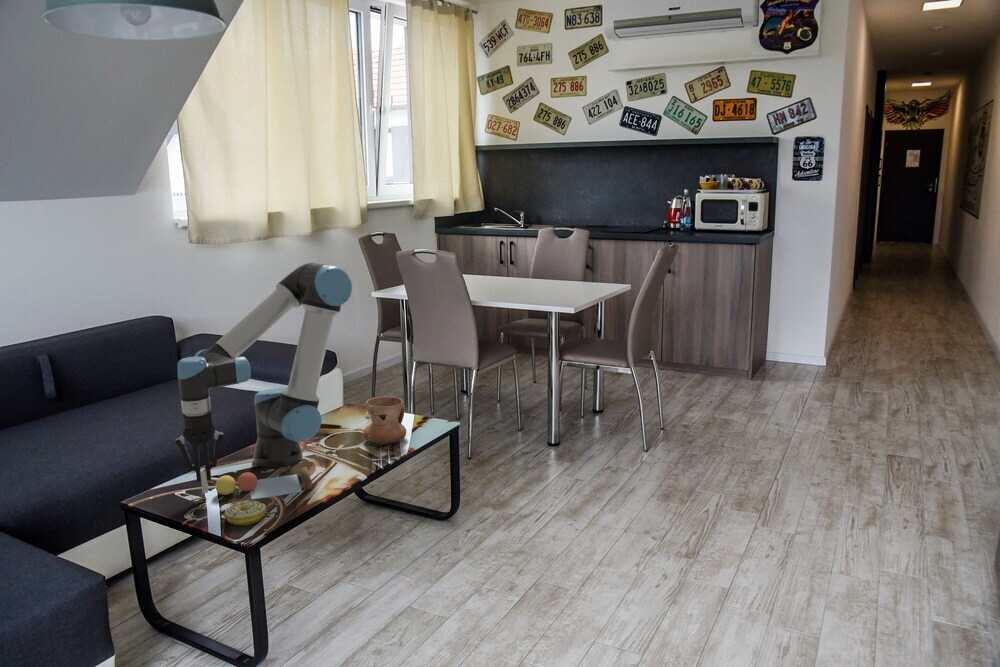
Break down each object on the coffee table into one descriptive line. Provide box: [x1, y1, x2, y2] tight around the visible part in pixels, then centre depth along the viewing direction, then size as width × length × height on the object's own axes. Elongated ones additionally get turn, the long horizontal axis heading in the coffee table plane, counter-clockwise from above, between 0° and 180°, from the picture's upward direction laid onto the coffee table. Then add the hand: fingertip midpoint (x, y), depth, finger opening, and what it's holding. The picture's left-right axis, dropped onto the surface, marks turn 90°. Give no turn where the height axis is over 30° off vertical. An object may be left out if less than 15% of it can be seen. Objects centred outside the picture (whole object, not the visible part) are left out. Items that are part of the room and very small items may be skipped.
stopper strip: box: [299, 466, 313, 491], centre depth 234 cm, size 2×12×2 cm, turn 20°
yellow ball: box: [215, 474, 237, 496], centre depth 226 cm, size 6×6×6 cm
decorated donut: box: [224, 500, 267, 527], centre depth 211 cm, size 10×11×4 cm
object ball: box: [236, 471, 258, 493], centre depth 228 cm, size 6×6×6 cm
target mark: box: [249, 473, 303, 501], centre depth 232 cm, size 14×14×1 cm
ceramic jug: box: [363, 395, 407, 445], centre depth 268 cm, size 18×14×14 cm
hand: (205, 491), depth 225 cm, fingers closed
